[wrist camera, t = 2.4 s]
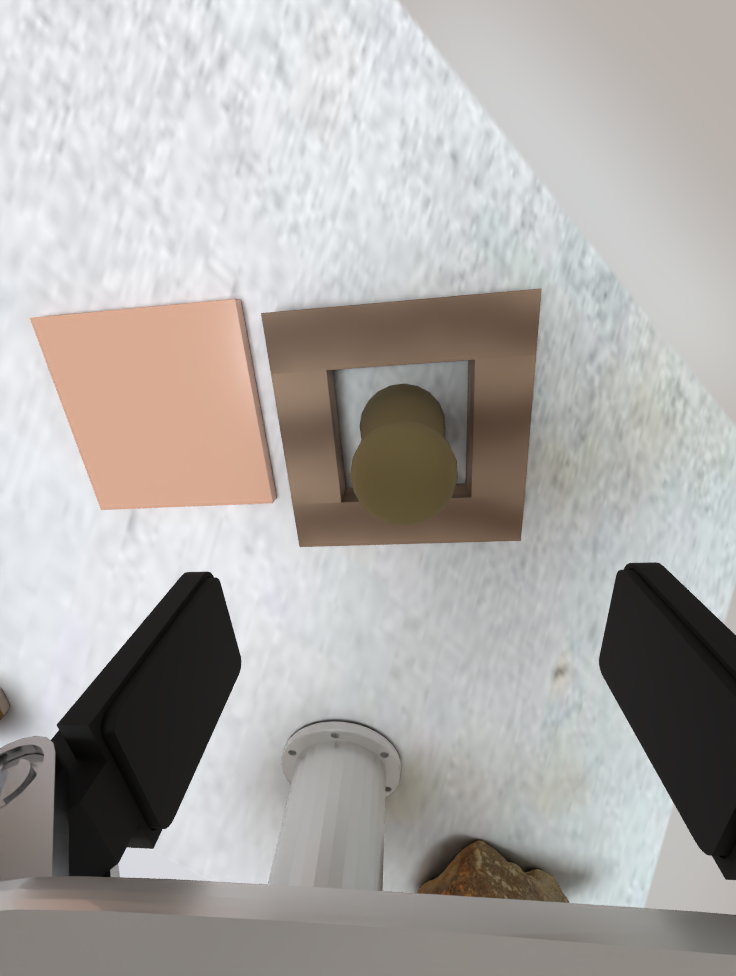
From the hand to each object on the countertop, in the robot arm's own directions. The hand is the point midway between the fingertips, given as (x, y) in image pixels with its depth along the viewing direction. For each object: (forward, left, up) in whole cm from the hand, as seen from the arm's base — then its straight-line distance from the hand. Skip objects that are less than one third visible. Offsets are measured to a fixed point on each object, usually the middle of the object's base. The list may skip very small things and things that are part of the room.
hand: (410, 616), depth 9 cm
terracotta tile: (+2, +17, -20) cm, 26 cm away
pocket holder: (0, 0, -20) cm, 20 cm away
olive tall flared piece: (0, 0, -20) cm, 20 cm away
